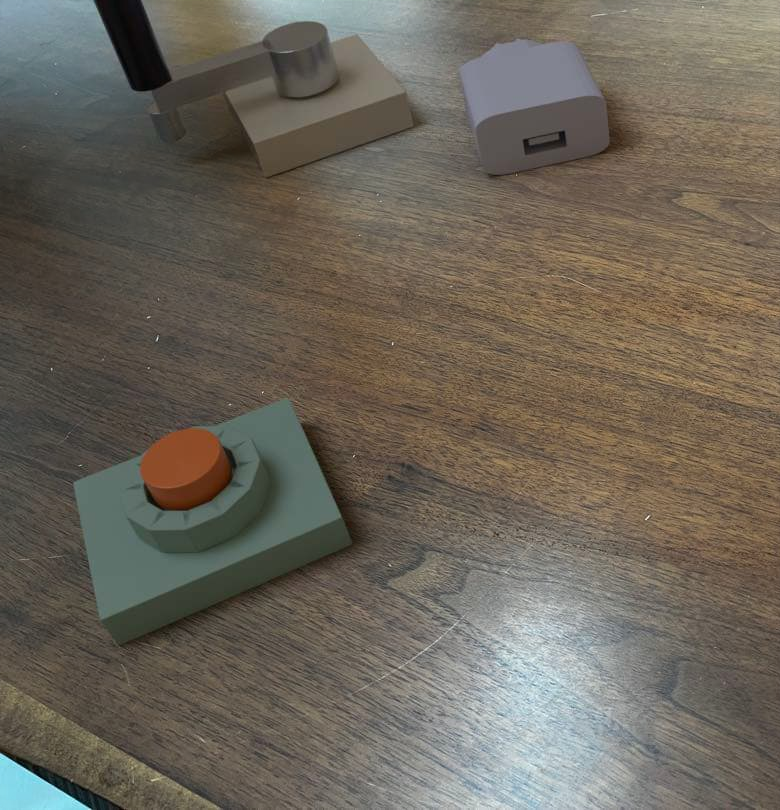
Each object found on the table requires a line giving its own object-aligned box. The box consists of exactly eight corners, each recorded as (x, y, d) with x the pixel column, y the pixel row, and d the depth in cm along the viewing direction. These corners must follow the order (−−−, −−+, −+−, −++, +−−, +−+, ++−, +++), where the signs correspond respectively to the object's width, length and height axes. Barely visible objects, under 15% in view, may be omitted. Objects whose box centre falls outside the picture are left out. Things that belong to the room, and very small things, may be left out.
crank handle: (331, 68, 87) (286, -92, 78) (350, 93, 84) (305, -71, 75) (148, 128, 84) (80, -32, 75) (159, 157, 80) (89, -8, 72)
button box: (118, 646, 52) (83, 597, 49) (89, 508, 59) (57, 458, 56) (353, 544, 55) (332, 493, 52) (299, 423, 61) (279, 372, 59)
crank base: (265, 178, 81) (253, 143, 79) (229, 112, 89) (217, 78, 87) (414, 126, 84) (406, 91, 82) (365, 67, 92) (357, 33, 90)
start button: (160, 523, 52) (147, 500, 51) (146, 470, 55) (133, 447, 54) (240, 491, 53) (228, 467, 52) (222, 440, 56) (211, 416, 55)
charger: (567, 59, 88) (610, 152, 78) (456, 82, 88) (484, 179, 77) (561, 3, 85) (605, 91, 74) (445, 27, 85) (473, 119, 74)
